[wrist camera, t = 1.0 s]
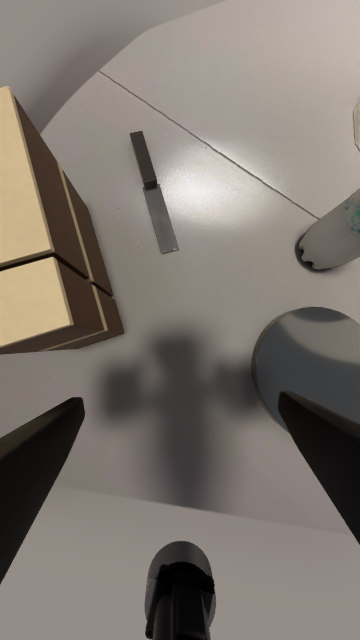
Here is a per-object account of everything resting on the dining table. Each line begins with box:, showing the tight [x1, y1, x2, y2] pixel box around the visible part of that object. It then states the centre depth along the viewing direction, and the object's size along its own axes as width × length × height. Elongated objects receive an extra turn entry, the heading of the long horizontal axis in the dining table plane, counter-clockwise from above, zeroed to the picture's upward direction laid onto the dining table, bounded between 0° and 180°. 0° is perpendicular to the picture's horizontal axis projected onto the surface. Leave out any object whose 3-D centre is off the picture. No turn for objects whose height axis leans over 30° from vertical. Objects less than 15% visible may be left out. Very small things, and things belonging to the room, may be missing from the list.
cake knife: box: [130, 131, 179, 254], centre depth 23 cm, size 18×2×1 cm, turn 16°
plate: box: [252, 307, 360, 433], centre depth 20 cm, size 16×16×1 cm
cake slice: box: [0, 257, 124, 354], centre depth 15 cm, size 4×6×11 cm
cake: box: [0, 86, 113, 297], centre depth 16 cm, size 13×6×11 cm, turn 19°
